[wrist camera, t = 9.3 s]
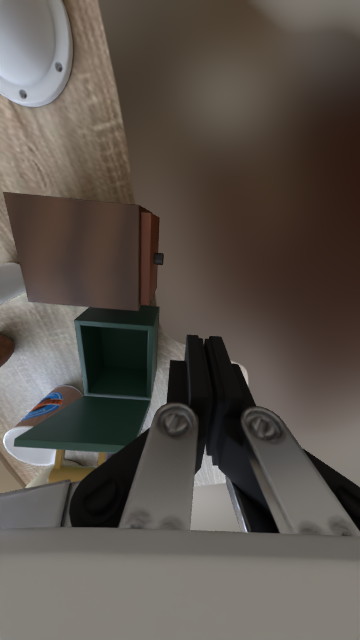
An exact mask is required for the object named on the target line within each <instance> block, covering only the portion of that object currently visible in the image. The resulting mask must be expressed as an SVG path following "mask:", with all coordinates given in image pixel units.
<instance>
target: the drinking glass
mask: <svg viewBox="0 0 360 640" xmlns="http://www.w3.org/2000/svg"><path fill="white" fill-rule="evenodd" d="M23 293H26V289H25V284H24V280H23V276H22V271H21V267H20V265H19V264H16V263H3V264H0V305H2V304H4V303H5V302H7V301H9V300H11V299H13V298H15V297H17V296H19V295H21V294H23Z"/></svg>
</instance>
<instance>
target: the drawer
mask: <svg viewBox="0 0 360 640" xmlns="http://www.w3.org/2000/svg"><path fill="white" fill-rule="evenodd" d="M158 239H159V217H157V216H155V215H153V214H152V213H145V212H141V221H140V304H141V305H149V304H150V302H151V299H152V297H153V295H154V293H155V290H156V288H157V266H158V265H163V258H164V255H163V253H158V241H159V240H158Z"/></svg>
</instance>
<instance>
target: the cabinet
mask: <svg viewBox="0 0 360 640" xmlns="http://www.w3.org/2000/svg"><path fill="white" fill-rule="evenodd" d="M3 194H4V198H5V203H6V207H7V211H8V215H9V220H10V224H11V228H12V233H13V237H14V241H15V246H16V250H17V254H18V258H19V263H20V267H21V271H22V276H23V280H24V284H25V289H26V293H27V297H28V301H29V302H36V303H48V304H60V305H72V306H84V307H96V308H108V309H120V310H132V311H139V309H140V307H141V304H140V221H141V212H145V213H152V212H150V211H148V210H146V209H145V208H143V207H141V206H139V205H133V204H123V203H113V202H103V201H92V200H82V199H72V198H61V197H51V196H41V195H30V194H20V193H10V192H3Z"/></svg>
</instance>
